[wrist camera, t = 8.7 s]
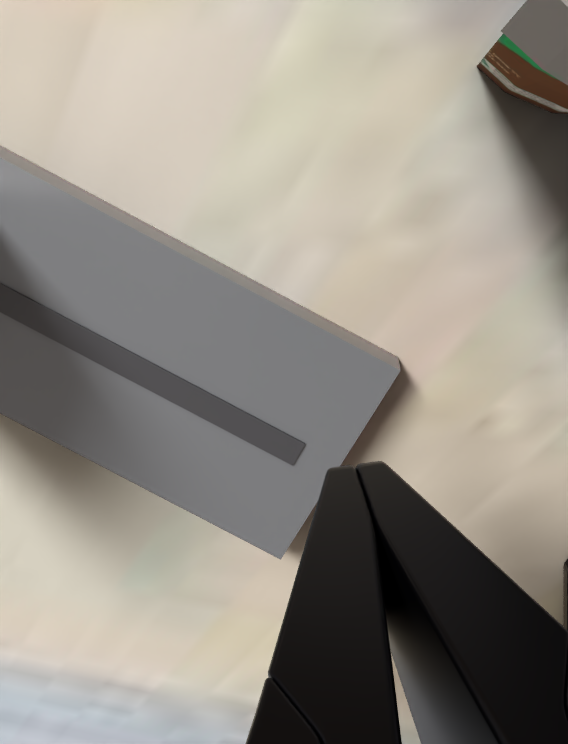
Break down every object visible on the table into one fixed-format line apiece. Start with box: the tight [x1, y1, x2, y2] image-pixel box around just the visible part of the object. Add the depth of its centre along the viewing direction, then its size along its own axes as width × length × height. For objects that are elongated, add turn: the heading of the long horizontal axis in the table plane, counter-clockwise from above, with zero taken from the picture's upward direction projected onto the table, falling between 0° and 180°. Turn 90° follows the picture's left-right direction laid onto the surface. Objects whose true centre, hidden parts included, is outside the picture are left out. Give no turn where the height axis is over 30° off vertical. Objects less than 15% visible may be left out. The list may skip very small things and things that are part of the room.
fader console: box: [0, 146, 401, 559], centre depth 19 cm, size 20×9×2 cm, turn 63°
